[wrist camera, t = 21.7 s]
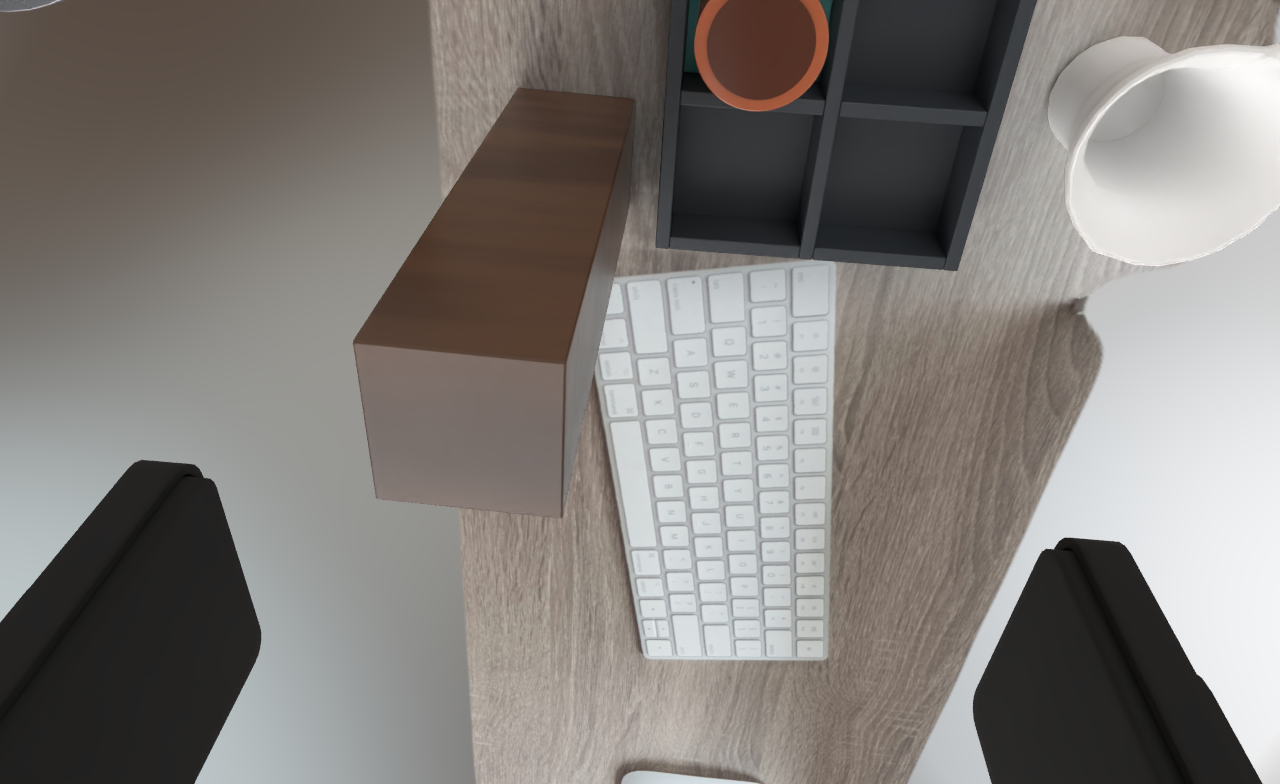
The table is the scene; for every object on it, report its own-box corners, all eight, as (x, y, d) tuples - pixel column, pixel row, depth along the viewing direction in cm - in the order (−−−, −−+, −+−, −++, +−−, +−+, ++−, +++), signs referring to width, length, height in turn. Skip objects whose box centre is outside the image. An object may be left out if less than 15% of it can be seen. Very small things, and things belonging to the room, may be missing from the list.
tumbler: (677, -17, 39) (669, 21, 33) (780, -85, 37) (791, -58, 31) (732, 83, 42) (734, 136, 35) (831, 23, 40) (851, 68, 34)
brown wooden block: (517, 87, 43) (351, 341, 24) (636, 98, 43) (566, 362, 24) (519, 199, 47) (375, 499, 27) (628, 209, 47) (562, 519, 27)
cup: (1252, 37, 39) (1390, 105, 31) (1107, 208, 45) (1193, 304, 36) (1095, -54, 38) (1197, -7, 30) (964, 134, 43) (1020, 218, 35)
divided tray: (659, 218, 47) (655, 248, 44) (680, -104, 38) (677, -94, 35) (942, 240, 46) (957, 271, 43) (1031, -81, 37) (1057, -70, 34)
